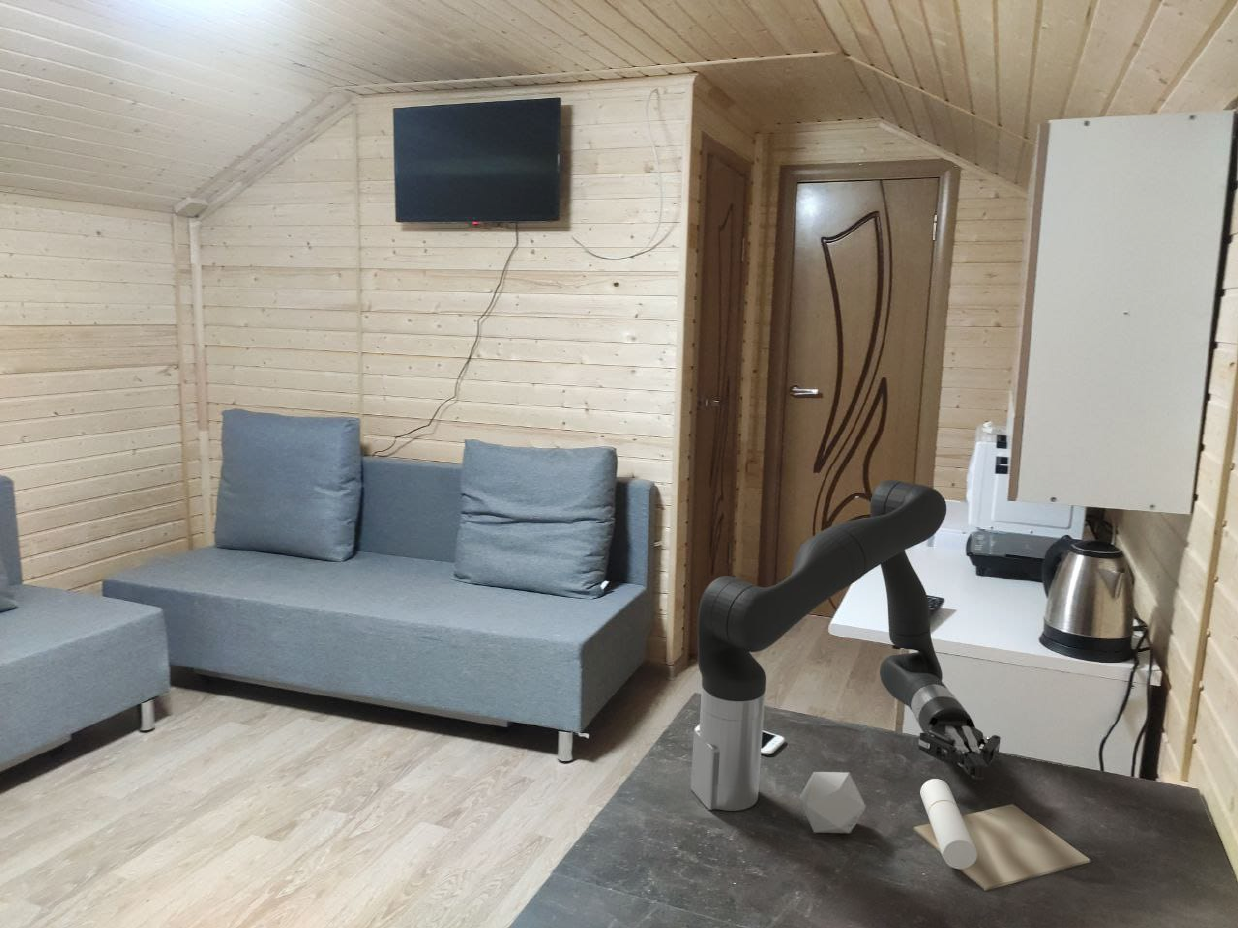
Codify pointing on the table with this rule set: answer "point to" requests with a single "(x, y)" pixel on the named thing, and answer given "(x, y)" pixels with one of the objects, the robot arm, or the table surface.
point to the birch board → (1010, 847)
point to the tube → (948, 824)
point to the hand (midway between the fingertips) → (980, 773)
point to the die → (832, 802)
